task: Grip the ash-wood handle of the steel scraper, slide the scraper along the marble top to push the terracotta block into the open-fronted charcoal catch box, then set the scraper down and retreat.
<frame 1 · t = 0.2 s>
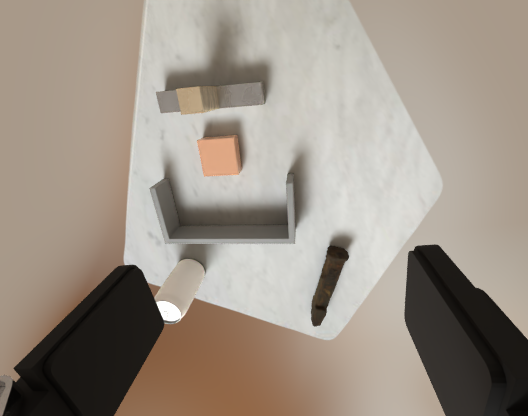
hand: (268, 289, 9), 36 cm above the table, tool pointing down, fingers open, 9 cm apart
catch box: (229, 201, 48), on the table
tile: (223, 153, 45), on the table
scraper: (214, 97, 41), on the table
can: (191, 269, 57), on the table
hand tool: (326, 281, 54), on the table
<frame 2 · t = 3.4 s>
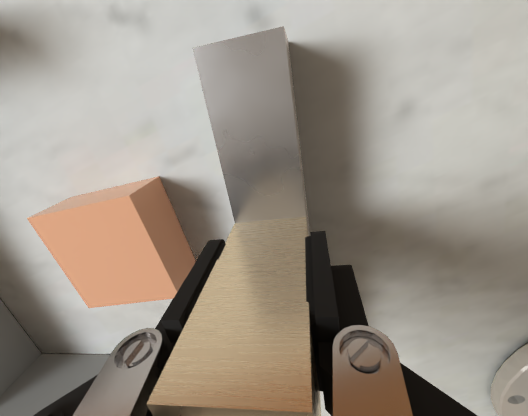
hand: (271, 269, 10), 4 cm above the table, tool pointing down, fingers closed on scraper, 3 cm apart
catch box: (18, 243, 17), on the table
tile: (138, 230, 16), on the table
scraper: (280, 218, 14), on the table, touching gripper
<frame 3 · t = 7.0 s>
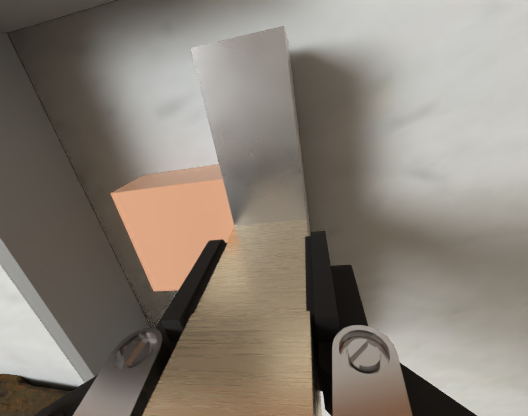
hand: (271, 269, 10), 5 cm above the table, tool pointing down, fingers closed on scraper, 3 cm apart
catch box: (173, 223, 16), on the table
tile: (206, 215, 16), on the table
scraper: (280, 221, 14), point 1 cm above the table, touching gripper
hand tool: (64, 388, 27), on the table
when the fingers open (4 cm above the table, at t = 10.5 s): scraper stays where it is, on the table.
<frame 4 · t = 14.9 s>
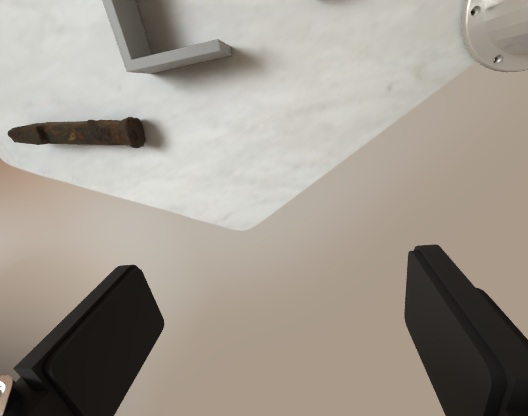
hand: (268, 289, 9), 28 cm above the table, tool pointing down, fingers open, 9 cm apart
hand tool: (88, 134, 38), on the table
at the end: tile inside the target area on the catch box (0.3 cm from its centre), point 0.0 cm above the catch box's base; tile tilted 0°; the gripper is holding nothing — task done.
